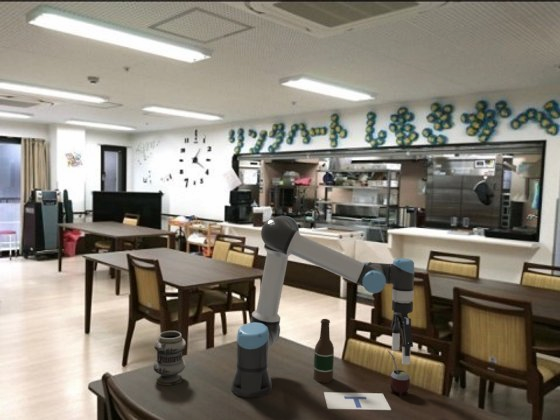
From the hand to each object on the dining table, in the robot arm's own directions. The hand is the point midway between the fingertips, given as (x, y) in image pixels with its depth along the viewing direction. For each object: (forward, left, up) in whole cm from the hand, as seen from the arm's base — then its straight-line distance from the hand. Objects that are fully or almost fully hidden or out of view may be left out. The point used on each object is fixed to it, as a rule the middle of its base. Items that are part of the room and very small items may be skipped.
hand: (400, 356), depth 169 cm
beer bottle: (-27, +11, -14) cm, 33 cm away
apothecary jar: (-87, +7, -14) cm, 89 cm away
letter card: (-17, -7, -14) cm, 23 cm away
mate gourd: (0, 0, -14) cm, 14 cm away
